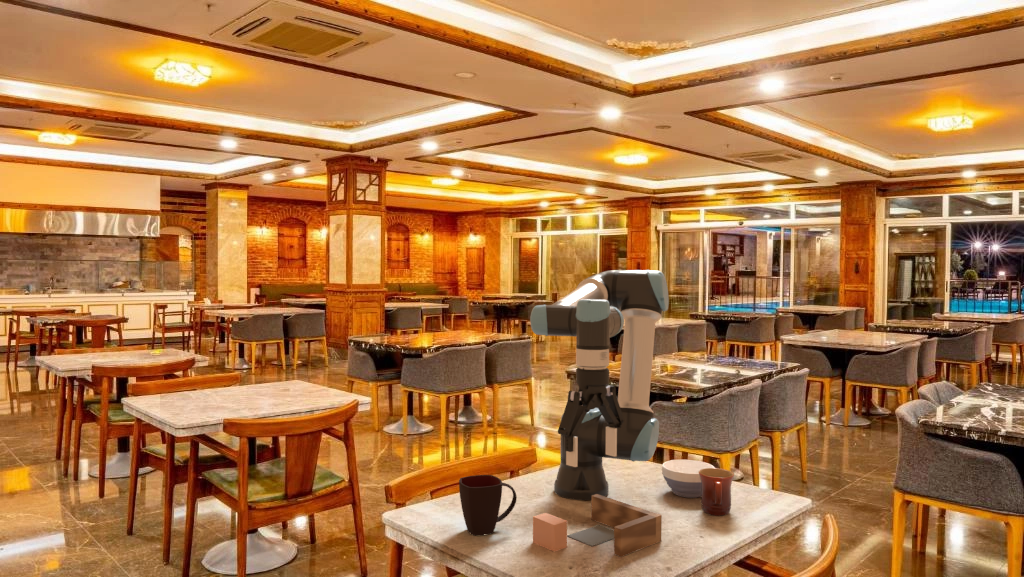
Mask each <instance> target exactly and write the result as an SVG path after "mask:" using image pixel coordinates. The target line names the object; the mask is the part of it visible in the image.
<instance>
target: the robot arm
mask: <svg viewBox="0 0 1024 577" xmlns="http://www.w3.org/2000/svg"><path fill="white" fill-rule="evenodd" d="M666 279H667V278H666V276H665V274H664V273H663V272H662V271H661V270H656V269H655V270H653V269H651V270H650V269H643V270H642V269H627V270H626V269H612V270H610V269H609V270H605V271H601V272H599V273H596V274H593V275H590V276H588V277H587V278H584V279H583V280H582V281H580V282H579V284H578V285H577V287H576V289H574V290H572V291H571V292H569V293H568V294H566V295H565V296H564V297H563V296H562V297H561V298H560V299H559V300H557V301H555V302H554V303H552V304H538V305H535V306H534V307H533V308H532V310H531V312H530V317H529V320H530V328H531V331H532V332H533V333H534V334H535V335H537V336H545V337H548V336H549V337H550V336H551V337H553V336H554V337H574V338H575V337H576V338H575V339H576V342H575V344H576V346H575V347H576V348H575V350H576V351H575V365H576V366H577V368H576V369H575V383H576V384H577V385H578V390H577V391H575V390H569V391H568V392H567V402H566V405H565V408H564V411H563V414H562V415H561V418H560V422H559V426H558V429H557V434H559V435H560V465H559V468H558V472H557V474H556V478H555V480H554V484H553V485H554V486H553V488H554V490H553V491H554V493H555V494H556V495H557V496H559V497H562V498H565V499H570V500H578V501H579V500H580V501H590V500H591V501H592V495H595V494H598V495H602V496H605V497H607V495H609V483H608V480H607V477H606V473H605V469H604V466H603V458H605V459H613V460H614V459H615V460H621V461H622V460H624V461H631V462H647V461H650V460H651V459H652V458H653V456H654V454H655V451H656V450H657V445H658V440H659V435H660V421H659V420H658V418H656V417H655V416H654V411H653V409H652V408H651V407H650V395H651V394H650V393H651V383H652V381H651V380H652V373H653V372H652V370H653V369H652V368H653V358H654V357H653V356H654V345H655V334H656V332H655V331H656V324H657V322H658V321H660V320H661V319H662V312H667V311H668V310H669V306H670V305H669V304H670V299H669V298H670V297H669V289H668V284H667V280H666ZM623 328H624V329H623ZM622 330H623V340H622V349H621V350H622V351H621V358H620V360H621V361H620V363H621V364H620V369H619V370H620V371H619V372H620V373H619V381H618V391H617V390H616V386H615V385H609V384H610V369H609V368H608V367H609V366H610V338H613V337H615V336H617V335H618V334H619V333H620V332H621V331H622ZM617 392H618V393H617Z"/></svg>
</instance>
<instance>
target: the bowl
mask: <svg viewBox="0 0 1024 577" xmlns="http://www.w3.org/2000/svg"><path fill="white" fill-rule="evenodd" d="M706 468H716V467H715V466H714V465H712V464H711V463H708V462H705V461H701V460H695V459H671V460H667V461H665V462H663V463H662V465H661V474H662V476H663V479H664V480H665V482H666V485H667V486H668V487H669V488H670V489H671V490H670V491H671V492H672V493H673V494H674V495H675V496H678V497H682V498H687V499H693V498H694V499H695V498H701V488H702V485H701V479H700V476H699V470H701V469H706Z"/></svg>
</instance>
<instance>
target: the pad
mask: <svg viewBox="0 0 1024 577" xmlns="http://www.w3.org/2000/svg"><path fill="white" fill-rule="evenodd" d="M567 538H570V539H573V540H575V541H578V542H580V543H582V544H585V545H587V546H590V547H595V546H597V545H600V544H603V543H606V542H608V541H611V540H614V529H612V528H611V527H610V528H609V527H608V526H605V525H603V524H596V525H595V526H590V527H589V528H585V529H582V530H579V531H576V532H574V533H570V534H567Z"/></svg>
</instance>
